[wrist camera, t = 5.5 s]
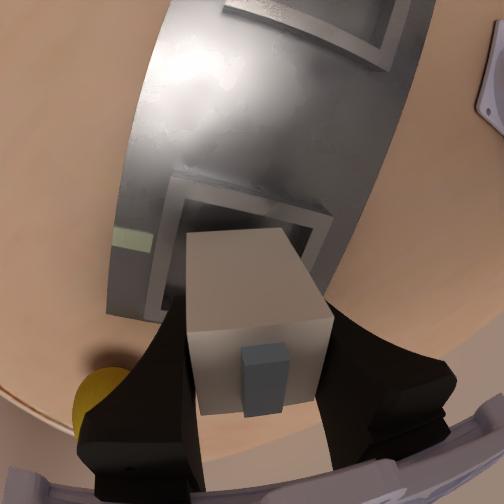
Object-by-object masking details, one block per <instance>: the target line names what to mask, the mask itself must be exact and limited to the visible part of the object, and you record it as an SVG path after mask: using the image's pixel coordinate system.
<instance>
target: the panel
mask: <svg viewBox="0 0 504 504" xmlns="http://www.w3.org/2000/svg"><path fill="white" fill-rule="evenodd" d="M435 1H436V0H172V1H171V4H170V6H169V9H168V11H167V14H166V17H165V19H164V22H163V25H162V28H161V30H160V33H159V36H158V39H157V42H156V45H155V48H154V51H153V54H152V57H151V60H150V63H149V67H148V70H147V73H146V77H145V80H144V84H143V87H142V91H141V94H140V98H139V102H138V106H137V110H136V113H135V117H134V122H133V126H132V130H131V134H130V139H129V143H128V148H127V153H126V158H125V163H124V168H123V173H122V179H121V184H120V190H119V196H118V202H117V209H116V215H115V223H114V228H113V236H112V244H111V245H112V247H111V256H110V266H109V277H108V290H107V307H106V314H110V315H115V316H120V317H125V318H130V319H136V320H141V321H147V322H152V323H158V324H162V322H163V320H164V318H165V316H166V314H167V311H168V309H169V306H170V304H171V301H172V298H173V297H174V296H175V295H186V235H187V233H193V232H209V231H226V230H244V229H262V228H282V230H283V231H284V233H285V234H286V236H287V238H288V239H289V241H290V243H291V244H292V246H293V248H294V249H295V251H296V253H297V254H298V256H299V258H300V259H301V261H302V263H303V264H304V266H305V268H306V269H307V271H308V273H309V274H310V276H311V278H312V279H313V281H314V283H315V284H316V286H317V288H318V290H319V291H320V293H321V295H322V296H323V295H324V293H325V291H326V289H327V287H328V285H329V283H330V281H331V279H332V277H333V275H334V273H335V271H336V269H337V266H338V264H339V262H340V260H341V258H342V256H343V254H344V252H345V249H346V247H347V245H348V243H349V241H350V239H351V236H352V234H353V232H354V230H355V228H356V225H357V223H358V221H359V219H360V216H361V214H362V212H363V209H364V207H365V205H366V202H367V200H368V198H369V195H370V193H371V191H372V188H373V186H374V183H375V181H376V179H377V176H378V174H379V171H380V169H381V166H382V164H383V161H384V159H385V156H386V154H387V151H388V148H389V146H390V143H391V141H392V138H393V135H394V133H395V130H396V127H397V124H398V122H399V119H400V116H401V113H402V110H403V108H404V105H405V102H406V99H407V96H408V93H409V90H410V87H411V84H412V81H413V78H414V75H415V72H416V69H417V65H418V62H419V59H420V56H421V52H422V49H423V46H424V42H425V39H426V35H427V32H428V28H429V25H430V21H431V17H432V13H433V9H434V5H435Z"/></svg>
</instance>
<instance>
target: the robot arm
mask: <svg viewBox="0 0 504 504" xmlns="http://www.w3.org/2000/svg"><path fill="white" fill-rule="evenodd" d="M476 109H477V112H478V113H479V114H480V115H481V116H482V117H483V118H484V119H485V120H486V121H488V122H489V123H490V124H491V125H492V126H493V127H494V128H495V129H496V130H497V131H498V132H500V133H501V134H502V135H503V136H504V21H503V20H497V21H496V26H495V31H494V37H493V42H492V46H491V51H490V56H489V60H488V64H487V68H486V72H485V76H484V80H483V84H482V87H481V91H480V95H479V98H478V101H477V105H476ZM486 110H487V112H486ZM324 300H325V299H324ZM325 302H326V303H327V305H328V307H329V308H330V310H331V312H332V314H333V315H334V321H333V326H332V330H331V335H330V339H329V343H328V347H327V351H326V355H325V359H324V363H323V367H322V371H321V375H320V379H319V383H318V386H317V390H316V394H315V398H316V401H317V405H318V408H319V412H320V415H321V419H322V423H323V427H324V430H325V435H326V439H327V443H328V447H329V452H330V457H331V462H332V467H333V471H331V472H327V473H323V474H319V475H315V476H311V477H306V478H301V479H297V480H292V481H287V482H281V483H276V484H270V485H264V486H257V487H250V488H243V489H234V490H224V491H212V492H206V488H205V482H204V475H203V468H202V461H201V453H200V445H199V437H198V428H197V418H196V402H195V399H196V387H195V382H194V376H193V370H192V364H191V358H190V351H189V345H188V338H187V326H186V295H175V296H174V297H173V298H172V301H171V304H170V306H169V309H168V311H167V314H166V316H165V318H164V320H163V322H162V324H161V326H160V328H159V330H158V332H157V334H156V335H155V337H154V339H153V340H152V342H151V344H150V345H149V347H148V349H147V350H146V352H145V353H144V355H143V356H142V357H141V359H140V360H139V361H138V363H137V364H136V365H135V367H134V368H133V369H132V370H131V371H130V373H129V374H128V375H127V376H126V377H125V378H124V380H123V381H122V382H121V383H120V384H119V385H118V386H117V387H116V388H115V389H114V390H113V391H112V392H111V393H110V394H109V395H107V396H106V397H105V398H104V399H103V400H102V401H100V402H99V403H98V404H97V405H95V406H94V407H93V408H92V409H90V410H89V411H88V412H86V413H85V415H84V418H83V421H82V424H81V427H80V431H79V437H78V444H77V455H78V456H79V458H80V459H81V461H82V462H83V463H84V464H85V465H86V466H87V467H88V468H89V469H90V470H91V471H92V472H93V473H94V474H95V489H86V488H79V487H72V486H66V485H60V484H54V483H50V482H49V481H48V480H47V479H46V478H45V477H43V476H41V475H40V474H38V473H36V472H32V471H28V470H24V469H20V468H15V467H12V466H10V467H8V472H7V477H6V483H5V488H4V494H3V501H2V504H431V503H433V502H435V501H437V500H439V499H440V498H442V497H444V496H446V495H447V494H449V493H451V492H452V491H454V490H456V489H457V488H459V487H460V486H462V485H464V484H465V483H467V482H468V481H470V480H471V479H473V478H474V477H476V476H477V475H479V474H480V473H482V472H483V471H485V470H486V469H488V468H489V467H490V466H492V465H493V464H495V463H496V462H497V461H498V460H500V459H501V458H502V457H503V456H504V396H503V395H502V393H499V394H498V395H496V396H494V397H493V398H491V399H489V400H487V401H486V402H485V403H483V404H482V405H481V406H480V407H479V408H478V409H477V411H476V412H475V414H474V415H473V416H471V417H469V418H467V419H465V420H463V421H461V422H459V423H457V424H455V425H453V426H452V427H448V425H447V424H446V422H445V421H444V419H443V417H445V415H446V413H445V411H444V410H443V408H442V407H443V406H444V404H445V402H446V401H447V400H448V398H449V397H450V396H451V394H452V392H453V391H454V389H455V387H456V383H457V379H456V377H455V375H454V373H453V372H452V371H451V369H450V368H449V367H448V365H447V364H446V363H445V362H444V361H441V360H437V359H434V358H430V357H426V356H422V355H419V354H417V353H414V352H411V351H408V350H406V349H403V348H401V347H398V346H396V345H394V344H392V343H390V342H387V341H385V340H383V339H381V338H379V337H378V336H376V335H374V334H372V333H371V332H369V331H367V330H365V329H364V328H362V327H361V326H359V325H358V324H356V323H355V322H353V321H352V320H350V319H349V318H348V317H346V316H345V315H344V314H342V313H341V312H340V311H338V310H337V309H336V308H335V307H333V306H332V305H331V304H330V303H328V302H327V301H326V300H325Z"/></svg>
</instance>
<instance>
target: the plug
mask: <svg viewBox="0 0 504 504" xmlns="http://www.w3.org/2000/svg"><path fill="white" fill-rule="evenodd" d="M333 321H334V315H333V314H332V312H331V310H330V308H329V307H328V305H327V303H326V302H325V300H324V298H323V296H322V295H321V293H320V291H319V290H318V288H317V286H316V284H315V283H314V281H313V279H312V278H311V276H310V274H309V273H308V271H307V269H306V268H305V266H304V264H303V263H302V261H301V259H300V258H299V256H298V254H297V253H296V251H295V249H294V248H293V246H292V244H291V243H290V241H289V239H288V238H287V236H286V234H285V233H284V231H283V230H282V228H262V229H244V230H226V231H209V232H193V233H187V235H186V326H187V338H188V345H189V351H190V358H191V364H192V370H193V376H194V382H195V387H196V393H197V398H198V404H199V409H200V414H201V416H202V415H215V414H226V413H235V412H244V417H245V418H247V417H255V416H262V415H269V414H276V413H282V409H283V406H287V405H292V404H298V403H304V402H309V401H314V397H315V394H316V390H317V386H318V383H319V379H320V375H321V371H322V367H323V363H324V359H325V355H326V351H327V347H328V343H329V339H330V335H331V330H332V326H333Z"/></svg>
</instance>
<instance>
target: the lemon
mask: <svg viewBox="0 0 504 504" xmlns="http://www.w3.org/2000/svg"><path fill="white" fill-rule="evenodd" d="M129 373H130V371H129V370H126V369H123V368H118V367H106V368H102V369H98V370H96V371H94V372H93V373H91V374H90V375H88V376H87V377H86V378H85V380H84V381H83V382H82V383H81V385H80V386H79V388H78V390H77V392H76V395H75V399H74V404H73V410H72V422H73V430H74V434H75V437H76V440H77V442H78V437H79V431H80V427H81V424H82V421H83V418H84V415H85V413H86V412H88V411H89V410H90V409H92V408H93V407H94V406H95V405H97V404H98V403H99V402H100V401H102V400H103V399H104V398H105V397H106V396H107V395H109V394H110V393H111V392H112V391H113V390H114V389H115V388H116V387H117V386H118V385H119V384H120V383H121V382H122V381H123V380H124V378H125V377H126V376H127V375H128V374H129Z"/></svg>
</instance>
